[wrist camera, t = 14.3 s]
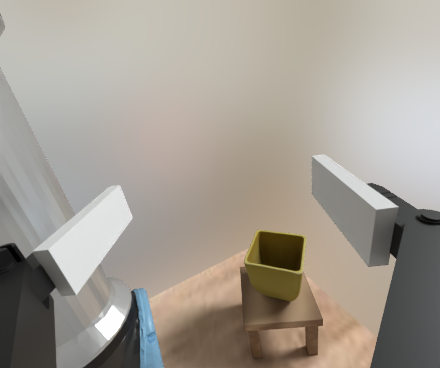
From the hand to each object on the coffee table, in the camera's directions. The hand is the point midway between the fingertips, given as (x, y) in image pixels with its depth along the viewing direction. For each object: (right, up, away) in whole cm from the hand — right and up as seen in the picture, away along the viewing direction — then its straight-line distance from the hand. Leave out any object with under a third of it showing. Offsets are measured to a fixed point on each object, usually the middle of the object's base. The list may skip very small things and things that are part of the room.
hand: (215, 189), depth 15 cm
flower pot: (+11, -18, +24) cm, 32 cm away
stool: (+12, -28, +28) cm, 41 cm away
